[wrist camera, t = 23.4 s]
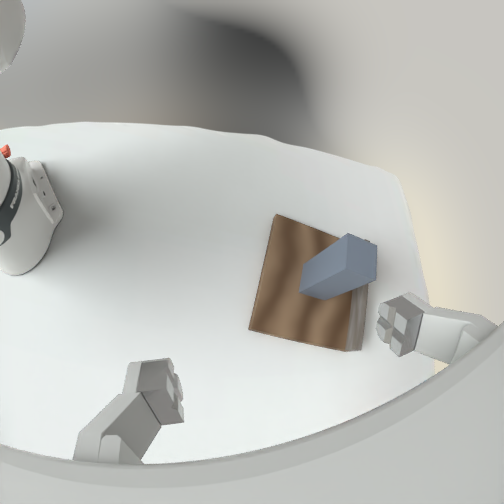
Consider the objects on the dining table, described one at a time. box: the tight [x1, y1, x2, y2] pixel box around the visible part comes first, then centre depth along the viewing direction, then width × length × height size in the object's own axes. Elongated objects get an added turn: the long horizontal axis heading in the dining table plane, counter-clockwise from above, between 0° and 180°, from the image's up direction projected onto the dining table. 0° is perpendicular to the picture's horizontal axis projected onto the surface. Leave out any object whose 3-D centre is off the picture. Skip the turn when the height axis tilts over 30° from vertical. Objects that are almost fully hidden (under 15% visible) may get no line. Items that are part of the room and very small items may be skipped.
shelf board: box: [248, 214, 370, 352], centre depth 44 cm, size 18×20×4 cm
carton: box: [299, 233, 377, 300], centre depth 39 cm, size 5×5×13 cm
